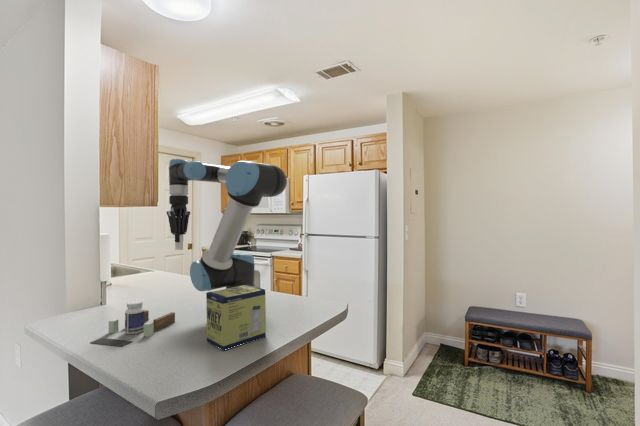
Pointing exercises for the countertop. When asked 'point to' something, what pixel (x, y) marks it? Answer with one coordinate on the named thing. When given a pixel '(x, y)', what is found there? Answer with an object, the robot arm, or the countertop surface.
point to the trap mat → (111, 342)
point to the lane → (161, 320)
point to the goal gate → (147, 327)
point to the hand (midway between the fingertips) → (179, 249)
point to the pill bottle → (134, 317)
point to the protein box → (235, 316)
